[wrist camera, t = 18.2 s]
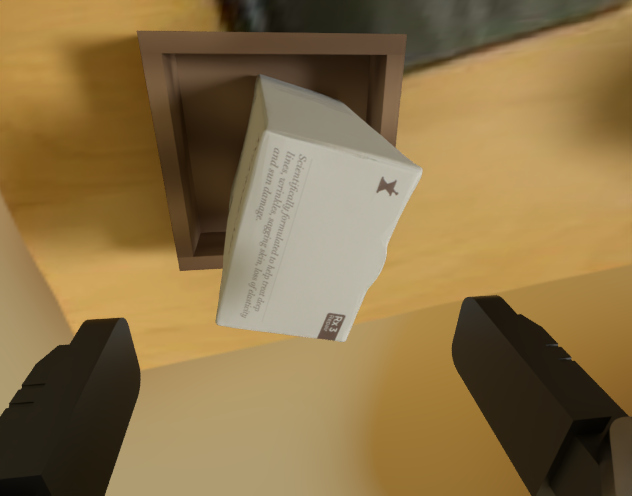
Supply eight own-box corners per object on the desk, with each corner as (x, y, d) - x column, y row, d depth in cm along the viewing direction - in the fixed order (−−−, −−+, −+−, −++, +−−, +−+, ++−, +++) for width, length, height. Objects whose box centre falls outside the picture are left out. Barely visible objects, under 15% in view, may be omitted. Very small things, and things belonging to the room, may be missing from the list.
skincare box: (257, 72, 24) (254, 107, 11) (346, 100, 26) (434, 161, 13) (229, 195, 28) (203, 329, 15) (309, 214, 29) (350, 352, 16)
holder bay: (157, 32, 23) (136, 30, 20) (383, 35, 25) (407, 34, 21) (190, 240, 30) (179, 270, 26) (368, 232, 32) (383, 259, 28)
